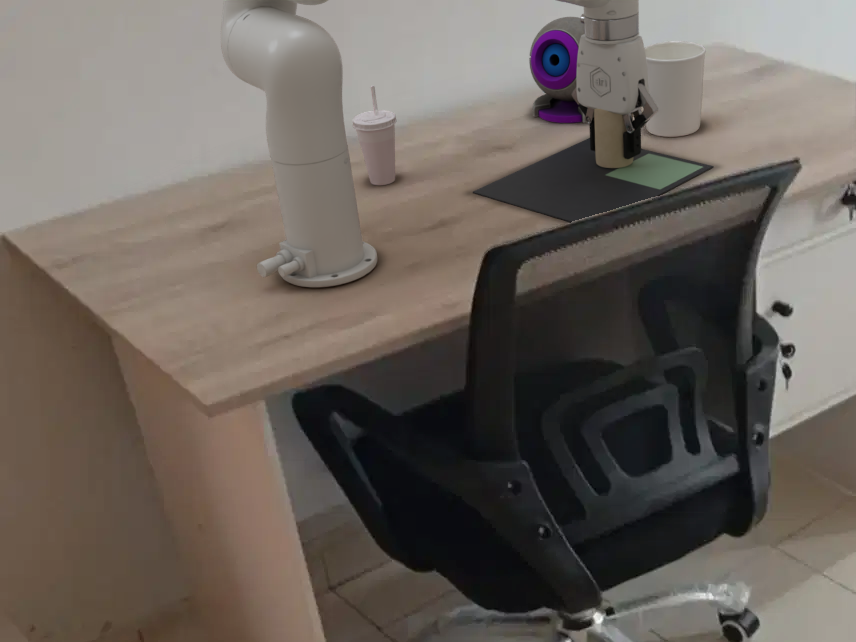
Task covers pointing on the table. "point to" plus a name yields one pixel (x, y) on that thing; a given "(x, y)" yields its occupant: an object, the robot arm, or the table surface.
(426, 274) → the table surface
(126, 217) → the table surface
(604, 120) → the candle
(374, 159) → the smoothie
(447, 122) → the table surface
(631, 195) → the desk pad
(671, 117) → the candle holder
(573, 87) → the webcam
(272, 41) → the robot arm
